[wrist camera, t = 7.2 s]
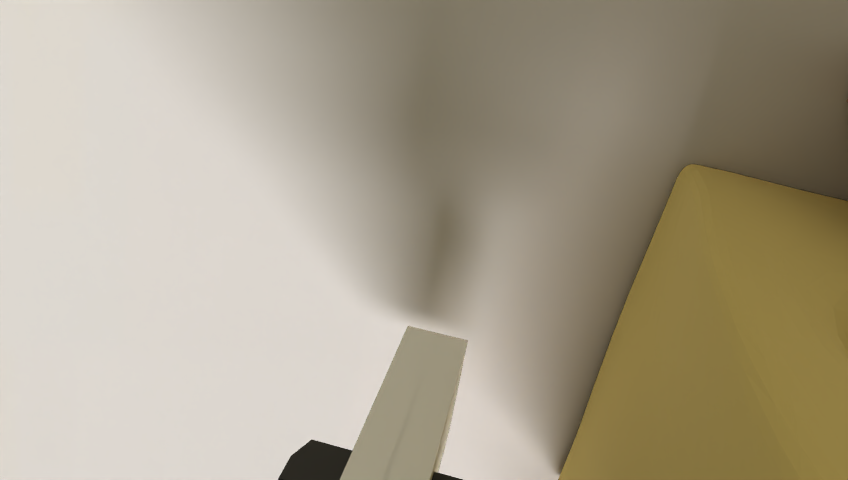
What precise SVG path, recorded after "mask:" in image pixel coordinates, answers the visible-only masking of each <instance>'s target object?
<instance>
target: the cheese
mask: <svg viewBox="0 0 848 480" xmlns="http://www.w3.org/2000/svg"><path fill="white" fill-rule="evenodd" d="M558 480H848V201H845V200H841V199H837V198H832V197H828V196H824V195H820V194H815V193H811V192H807V191H803V190H799V189H795V188H791V187H787V186H783V185H779V184H775V183H771V182H767V181H763V180H759V179H755V178H751V177H747V176H744V175H740V174H736V173H732V172H728V171H723V170H719V169H714V168H709V167H705V166H701V165H696V164H690V165H688V166H686V167H684V168H683V170H682V171H681V172H680V174H679V176H678V177H677V179H676V182H675V184H674V187H673V189H672V192H671V194H670V197H669V199H668V201H667V204H666V206H665V209H664V211H663V214H662V216H661V218H660V221H659V223H658V225H657V228H656V230H655V233H654V235H653V237H652V240H651V242H650V244H649V247H648V249H647V252H646V254H645V256H644V259H643V261H642V263H641V266H640V268H639V271H638V273H637V275H636V278H635V280H634V282H633V285H632V287H631V290H630V292H629V295H628V297H627V300H626V302H625V305H624V307H623V310H622V312H621V315H620V317H619V320H618V322H617V325H616V327H615V330H614V333H613V335H612V338H611V340H610V343H609V346H608V349H607V351H606V354H605V357H604V360H603V362H602V365H601V368H600V371H599V373H598V376H597V379H596V382H595V384H594V387H593V390H592V392H591V395H590V398H589V401H588V404H587V407H586V410H585V413H584V415H583V418H582V421H581V424H580V427H579V429H578V432H577V435H576V437H575V440H574V442H573V445H572V447H571V450H570V452H569V454H568V457H567V459H566V462H565V464H564V467H563V469H562V472H561V474H560V477H559V479H558Z"/></svg>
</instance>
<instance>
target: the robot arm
mask: <svg viewBox="0 0 848 480" xmlns="http://www.w3.org/2000/svg"><path fill="white" fill-rule="evenodd" d="M467 342H468V340H464V339H460V338H455V337H451V336H447V335H443V334H439V333H435V332H431V331H427V330H423V329H419V328H415V327H411V326H408V327H407V329H406V331H405V333H404V336H403V338H402V340H401V342H400V345H399V347H398V349H397V352H396V354H395V356H394V358H393V361H392V363H391V365H390V367H389V370H388V372H387V374H386V376H385V379H384V381H383V383H382V385H381V388H380V390H379V392H378V394H377V397H376V399H375V401H374V403H373V406H372V408H371V410H370V412H369V415H368V417H367V419H366V422H365V424H364V426H363V428H362V431H361V433H360V435H359V437H358V440H357V442H356V444H355V446H354V449H353V451H351V450H348V449H344V448H340V447H337V446H333V445H330V444H326V443H322V442H319V441H315V440H311V441H309V442H308V443H307V444H306V445H304V446H303V447H302V448H300V449H299V450H298V451H297V452H295V453H294V454H293V455H292V456H291V457H290V459H289V460H288V462H287V464H286V466H285V468H284V469H283V471H282V473H281V475H280V477H279V479H278V480H462V479H459V478H455V477H451V476H448V475H444V474H440V473H438V471H439V467H440V464H441V460H442V456H443V452H444V448H445V444H446V441H447V437H448V433H449V429H450V424H451V419H452V415H453V410H454V405H455V400H456V395H457V390H458V386H459V381H460V376H461V371H462V366H463V361H464V357H465V352H466V347H467Z"/></svg>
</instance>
